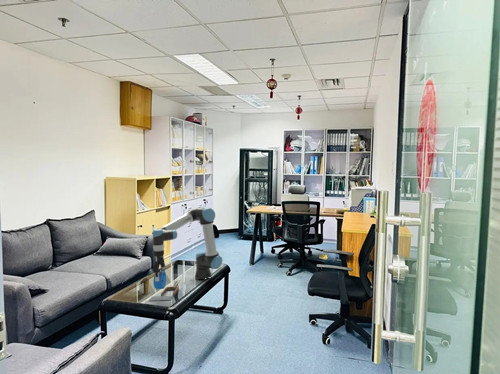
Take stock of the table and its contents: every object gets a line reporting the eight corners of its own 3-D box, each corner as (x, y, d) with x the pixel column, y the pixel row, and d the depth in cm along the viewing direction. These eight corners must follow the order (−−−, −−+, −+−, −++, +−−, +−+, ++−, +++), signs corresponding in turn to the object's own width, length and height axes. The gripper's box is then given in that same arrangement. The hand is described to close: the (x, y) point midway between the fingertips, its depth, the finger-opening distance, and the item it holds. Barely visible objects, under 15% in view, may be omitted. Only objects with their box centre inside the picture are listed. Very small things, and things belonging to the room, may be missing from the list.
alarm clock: (159, 286, 256) (158, 266, 256) (167, 285, 256) (166, 266, 256) (153, 291, 243) (152, 271, 243) (162, 291, 243) (161, 271, 243)
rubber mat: (173, 296, 254) (173, 295, 254) (170, 300, 246) (170, 299, 246) (152, 297, 254) (152, 296, 254) (148, 301, 246) (148, 300, 246)
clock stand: (178, 289, 270) (178, 286, 270) (174, 296, 255) (173, 293, 255) (166, 289, 270) (166, 286, 270) (161, 296, 255) (160, 293, 255)
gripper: (158, 253, 236) (160, 283, 237) (168, 246, 261) (169, 273, 262) (148, 254, 237) (149, 283, 237) (158, 246, 262) (160, 273, 262)
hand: (160, 278), depth 250 cm, fingers closed on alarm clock, 13 cm apart
